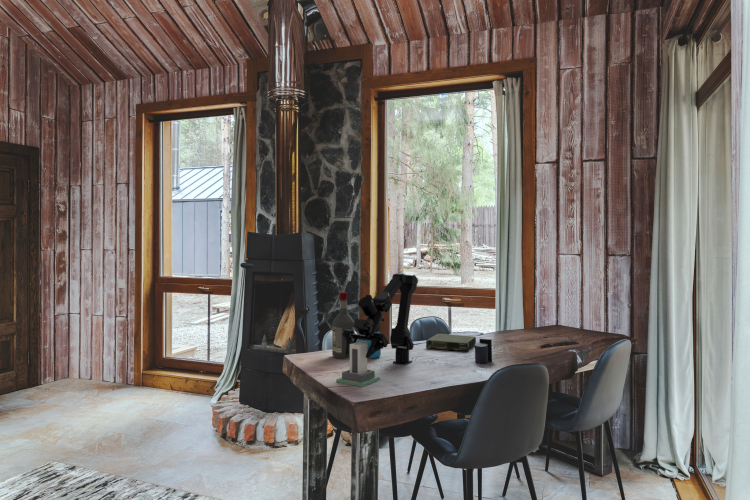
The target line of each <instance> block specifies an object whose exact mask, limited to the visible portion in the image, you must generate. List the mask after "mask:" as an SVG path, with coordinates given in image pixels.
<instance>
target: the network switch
mask: <svg viewBox="0 0 750 500" xmlns="http://www.w3.org/2000/svg"><path fill="white" fill-rule="evenodd" d="M475 343H477V338H476V336H473V335H460V334H450V333H449V334H448V333H436V334H435V335H433V336H431V337H430V338H428V339H427V340H426V341H425V345H426V346H425V347H426V349H427V350H429V349H434V350H436V349H437V350H444V351H446V350H448V351H451V350H452V351H460V352H463V351H464V352H465V353H467V352H468V351H469V350H470V349H471V348H473V347H475V345H474V344H475Z"/></svg>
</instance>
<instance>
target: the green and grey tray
mask: <svg viewBox="0 0 750 500" xmlns="http://www.w3.org/2000/svg"><path fill="white" fill-rule="evenodd" d="M375 372H376V371H375V370H373V369H368V368H367V373H365V374H362V375H358V374H352V373H350V369H348V370H345V371H343V372H341V377H339V378H336V383H341V384H345V385H351V386H356V387H357V386H358V387H365V386H368V385H370V384H372V383H375V382H377V381H379V380H381V376H378V375H376V373H375Z"/></svg>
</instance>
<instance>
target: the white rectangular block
mask: <svg viewBox="0 0 750 500" xmlns="http://www.w3.org/2000/svg"><path fill="white" fill-rule="evenodd" d="M366 354H367V344H366V343H358V341H356V343H353V344H350V358H349V370H350V373H352V374H358V375H362V374H365V373H367V369H368V358H366Z"/></svg>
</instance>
